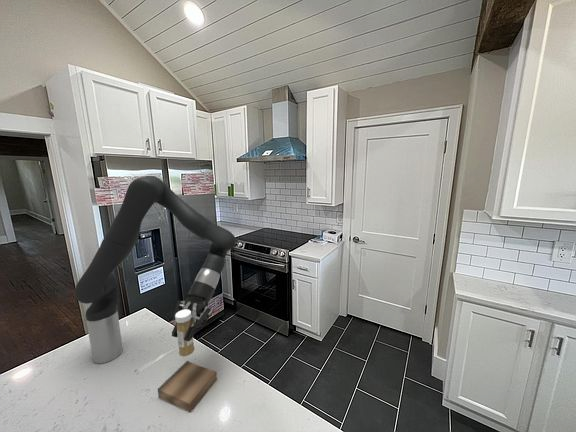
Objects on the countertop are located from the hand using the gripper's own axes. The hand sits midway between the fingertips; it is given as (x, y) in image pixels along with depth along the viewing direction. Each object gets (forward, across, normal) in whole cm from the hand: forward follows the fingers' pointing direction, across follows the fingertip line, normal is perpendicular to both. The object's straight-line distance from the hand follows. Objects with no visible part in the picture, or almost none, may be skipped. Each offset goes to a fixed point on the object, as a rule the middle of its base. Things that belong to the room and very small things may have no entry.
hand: (180, 338), depth 70 cm
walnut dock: (+12, 0, +15) cm, 19 cm away
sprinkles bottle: (+3, 0, +6) cm, 7 cm away
